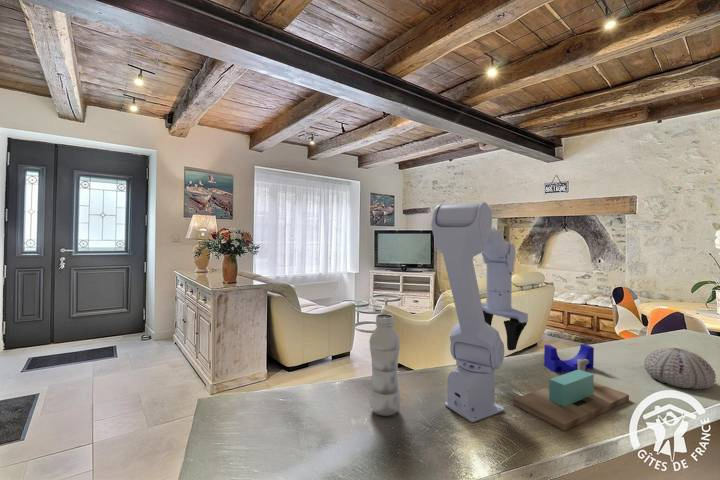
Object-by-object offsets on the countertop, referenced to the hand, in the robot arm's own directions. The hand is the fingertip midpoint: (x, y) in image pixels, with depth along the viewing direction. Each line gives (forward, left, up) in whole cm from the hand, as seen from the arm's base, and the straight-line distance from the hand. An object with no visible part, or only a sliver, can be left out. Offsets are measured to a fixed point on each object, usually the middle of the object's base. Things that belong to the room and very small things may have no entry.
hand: (498, 344), depth 84 cm
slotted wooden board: (+6, -15, -9) cm, 18 cm away
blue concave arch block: (+25, -4, -10) cm, 27 cm away
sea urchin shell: (+40, -21, -10) cm, 46 cm away
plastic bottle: (-32, +2, -10) cm, 33 cm away
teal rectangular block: (+6, -15, -8) cm, 18 cm away
